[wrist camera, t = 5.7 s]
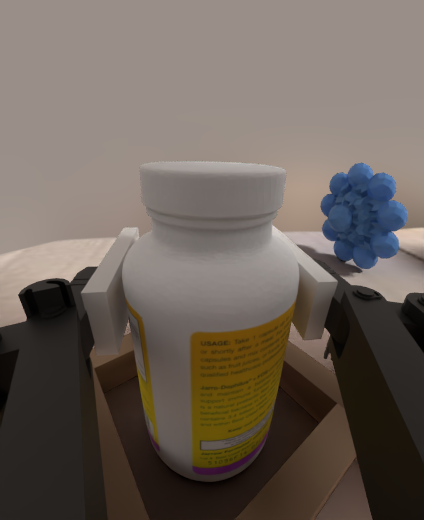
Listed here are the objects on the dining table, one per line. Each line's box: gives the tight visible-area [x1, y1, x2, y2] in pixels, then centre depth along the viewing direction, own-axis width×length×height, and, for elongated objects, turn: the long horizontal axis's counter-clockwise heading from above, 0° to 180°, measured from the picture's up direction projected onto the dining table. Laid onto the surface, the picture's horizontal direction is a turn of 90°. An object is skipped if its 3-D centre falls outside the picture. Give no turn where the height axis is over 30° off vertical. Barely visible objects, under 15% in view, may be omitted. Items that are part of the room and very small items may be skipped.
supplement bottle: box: [122, 161, 300, 482], centre depth 11 cm, size 7×7×13 cm
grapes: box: [321, 163, 407, 269], centre depth 29 cm, size 12×7×12 cm, turn 19°
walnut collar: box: [90, 333, 356, 520], centre depth 13 cm, size 12×12×2 cm
